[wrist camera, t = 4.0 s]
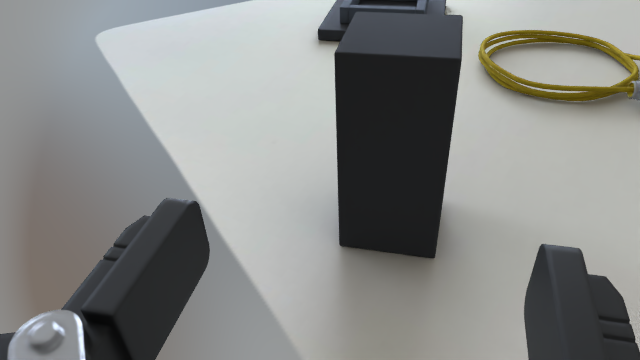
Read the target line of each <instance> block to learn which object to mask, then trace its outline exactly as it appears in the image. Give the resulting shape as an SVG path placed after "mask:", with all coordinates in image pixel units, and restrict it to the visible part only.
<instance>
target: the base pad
mask: <svg viewBox="0 0 640 360" xmlns="http://www.w3.org/2000/svg"><path fill="white" fill-rule="evenodd" d="M445 5H446V0H337V1H336V2H335V4H334V5H333V7H332V8H331V10H330V12H329V13H328V15H327V16H326V18H325V19H324V21H323V23H322V24H321V26H320V27H319V29H318V39H319V40H336V41H341V40H342V38H343V36H344V34H345V32H346V30H347V28H348V26H349V24H350V22H351V20H352V18H353V17H354V15H355V13H356V12H381V13H409V14H437V15H444V14H445Z"/></svg>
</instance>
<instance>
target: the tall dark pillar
mask: <svg viewBox="0 0 640 360" xmlns="http://www.w3.org/2000/svg"><path fill="white" fill-rule="evenodd" d="M462 24H463V17H462V16H461V15H437V14H409V13H381V12H356V13H355V15H354V17H353V18H352V20H351V22H350V24H349V26H348V28H347V30H346V32H345V34H344V36H343V38H342V40H341V42H340V44H339V46H338V48H337V49H336V51H335V91H336V129H337V167H338V205H339V244H340V245H341V246H347V247H355V248H362V249H370V250H377V251H384V252H392V253H399V254H407V255H414V256H422V257H429V258H434V257H435V254H436V246H437V239H438V231H439V224H440V217H441V209H442V202H443V194H444V187H445V179H446V172H447V165H448V157H449V150H450V142H451V135H452V127H453V120H454V113H455V105H456V98H457V90H458V83H459V75H460V68H461V60H462Z"/></svg>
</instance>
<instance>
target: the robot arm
mask: <svg viewBox="0 0 640 360" xmlns="http://www.w3.org/2000/svg"><path fill="white" fill-rule="evenodd" d="M209 252H210V249H209V242H208V238H207V234H206V230H205V226H204V222H203V218H202V214H201V210H200V206H199V204H198V203H197V202H196V201H189V200H182V199H173V198H166V199H164V200H163V201H162V202H161V203H160V205H159V206H158V207H157V209H156V210H155V211H154V212H153V214H152V215H151V216H143V217H142V218H140V219H139V220H137V221H136V222H134V223H133V224H131V225H130V226H129V227H127V228H126V229H125V230H124V231H123V233H122V234H121V235H120V237H119V238H118V239H117V240H116V241H115V243H114V246H113V247H111V248H110V249H109V250H108V251H107V253H106V254H105V255H104V258H103V260H100V261H99V263H98V264H97V265H96V267H95V268H94V269H93V270H92V272H91V273H90V274H89V275H88V277H87V278H86V279H85V280H84V282H83V283H82V284H81V286H80V287H79V288H78V289H77V290H76V292H75V293H74V294H73V295H72V297H71V298H70V299H69V300H68V302H67V303H66V304H65V305H64V307H63V308H62V309H61V310H54V311H49V312H45V313H43V314H40V315H38V316H36V317H34V318H32V319H31V320H29V321H28V322H26V323H25V324H24V325H23V326H22V327H21V328H20V329H19V330H18V331H17V332H14V333H6V334H0V360H155V359H156V357H157V355H158V353H159V352H160V350H161V348H162V346H163V344H164V343H165V341H166V339H167V337H168V336H169V334H170V332H171V330H172V328H173V327H174V325H175V323H176V321H177V320H178V318H179V316H180V314H181V312H182V311H183V309H184V307H185V305H186V303H187V302H188V300H189V298H190V296H191V294H192V293H193V291H194V289H195V287H196V286H197V284H198V282H199V280H200V278H201V276H202V275H203V273H204V271H205V269H206V267H207V264H208V260H209ZM524 319H525V329H526V338H527V348H528V357H529V360H640V352H639V348H638V345H637V343H635V335H634V332H633V329H632V326H631V324H629V321H630V319H629V316H628V313H627V309H626V306H625V303H624V300H623V297H622V296H621V295H620V293H619V292H618V291H617V290H616V288H615V287H614V286H613V285H612V284H611V282H610V281H609V280H608V279H607V277H605V276H598V275H590V274H588V273H587V269H586V265H585V261H584V257H583V254H582V251H581V250H580V249H579V248H572V247H564V246H556V245H547V244H542V245H541V246H540V248H539V251H538V254H537V257H536V261H535V264H534V267H533V271H532V274H531V277H530V281H529V284H528V288H527V291H526V296H525V305H524Z"/></svg>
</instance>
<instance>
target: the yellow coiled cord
mask: <svg viewBox="0 0 640 360" xmlns="http://www.w3.org/2000/svg"><path fill="white" fill-rule="evenodd" d="M516 34H520V35H516ZM538 34H542V35H538ZM507 35H513V36H507ZM551 35H557V36H551ZM501 36H507V37H503V38H499V39H496V40H493V41H490V40H492V39H494V38H497V37H501ZM558 36H564V37H558ZM566 37H572V38H566ZM519 38H538V39H526V40H518V41H512V42H508V43H505V44H501V45H499V46H496V47H494V48H493V49H491V50H490V51H489V52H488V53H487V54H486V53H485V49H486V48H488V47H489V46H491V45H493V44H496V43H499V42H502V41H506V40H512V39H519ZM573 38H578V39H573ZM580 39H583V40H580ZM489 41H490V42H489ZM591 41H592V42H591ZM487 42H488V43H487ZM535 42H556V43H570V44H577V45H583V46H588V47H592V48H596V49H599V50H601V51H603V52H605V53H607V54H609V55H610V56H612V57H613V58H615V59H616V60H617V61H619V62H620V63H621V64H623V65H624V66H625V67H626V68H627V69H628V70H629V71H630V72H631V73H632V74H631V75H630V76H629V77H628V78H626V79H625V80H623V81H621V82H620V83H618V84H615V85H613V86H611V87H588V86H561V85H550V84H542V83H537V82H532V81H528V80H525V79H522V78H519V77H517V76H515V75H513V74H511V73H509V72H507V71H506V70H504V69H502V68H501V67H499V66H498V65H496V64H495V63H494V62H493V61H492V60H491V59H490V58H489V57H490V56H491V54H492V53H494V52H495V51H497V50H499V49H502V48H504V47H508V46H512V45H517V44H525V43H535ZM594 42H596V43H594ZM597 43H599V44H601V45H604V46H606V47H608V48H606V47H604V46H601V45H599V44H597ZM609 48H610V49H609ZM478 56H479V60H480V61H481V63H482V64H483V65H484V67H485V68H486V70H487V72H488V73H489V74H490V76H491V77H492V78H493V79H494V80H495V81H496V82H498V83H499V84H500V85H502V86H504V87H505V88H507V89H510V90H513V91H516V92H520V93H523V94H528V95H532V96H536V97H542V98H548V99H555V100H566V101H589V100H595V99H599V98H603V97H607V96H610V95H613V94H616V93H619V92H627V96H628V98H630V99H632V98H633V99H636V100H640V81H637V80H638V77H639V74H638V71H639V70H638V66H637V65H636V64H635V62H634V61H633V60H640V56H637V55H631V54H627V53H623V52H622V51H621V50H619V49H618V48H617V47H615V46H614V45H612V44H610V43H608V42H606V41H603V40H600V39H597V38H593V37H588V36H584V35H579V34H572V33H565V32H557V31H541V30H518V31H508V32H501V33H497V34H494V35H491V36H489V37H487V38H486V39H485V40H484V41H483V42H482V44H481V46H480V51H479V55H478ZM632 59H633V60H632ZM493 68H494V69H493ZM496 70H497V71H496ZM500 73H501V74H500ZM502 74H503V75H504V76H503V75H502ZM505 76H506V77H505ZM507 77H508V78H507ZM509 78H510V79H509ZM511 79H512V80H514V81H516V82H518V83H521V84H524V85H528V86H531V87H537V88H542V89H551V90H561V91H589V92H580V93H556V92H546V91H540V90H536V89H532V88H528V87H525V86H522V85H520V84H518V83H516V82H514V81H512V80H511Z"/></svg>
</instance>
